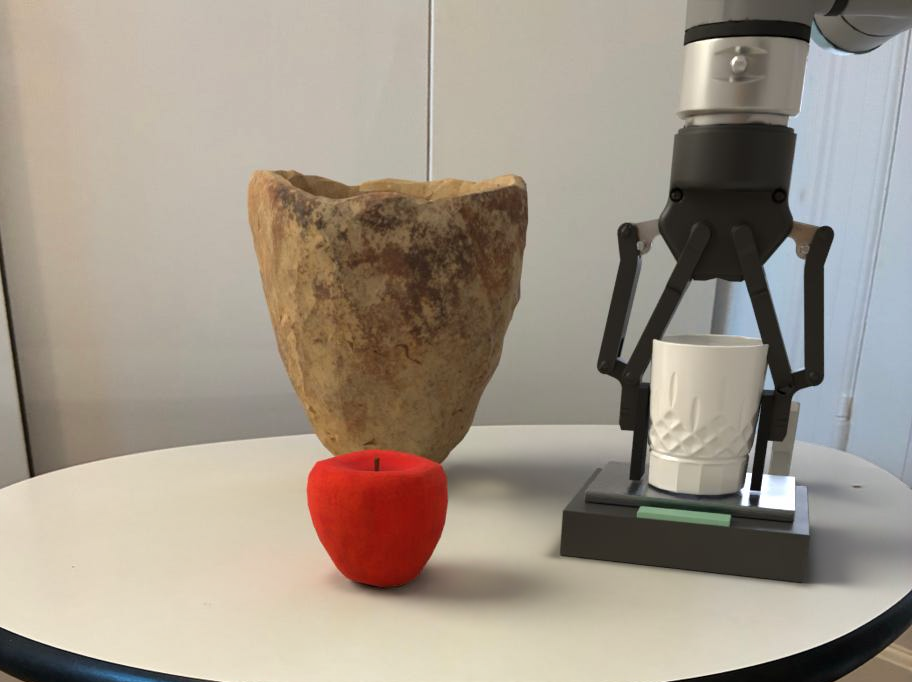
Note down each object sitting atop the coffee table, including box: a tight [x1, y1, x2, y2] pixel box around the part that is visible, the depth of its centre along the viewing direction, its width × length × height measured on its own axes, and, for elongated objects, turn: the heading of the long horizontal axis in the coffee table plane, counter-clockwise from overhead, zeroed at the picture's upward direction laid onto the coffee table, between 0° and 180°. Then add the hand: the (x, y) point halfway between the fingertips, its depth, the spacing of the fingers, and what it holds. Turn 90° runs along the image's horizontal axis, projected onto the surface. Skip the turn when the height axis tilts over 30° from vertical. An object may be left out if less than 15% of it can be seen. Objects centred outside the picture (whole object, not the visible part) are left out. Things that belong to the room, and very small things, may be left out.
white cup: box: [647, 333, 769, 495], centre depth 71 cm, size 8×8×10 cm
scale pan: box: [584, 460, 796, 522], centre depth 74 cm, size 14×10×1 cm
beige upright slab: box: [767, 400, 801, 477], centre depth 88 cm, size 7×2×8 cm, turn 161°
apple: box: [306, 449, 449, 588], centre depth 64 cm, size 9×9×8 cm
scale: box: [559, 467, 811, 583], centre depth 74 cm, size 16×14×4 cm
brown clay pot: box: [247, 169, 529, 465], centre depth 86 cm, size 22×22×25 cm
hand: (695, 480), depth 73 cm, fingers closed on white cup, 8 cm apart
